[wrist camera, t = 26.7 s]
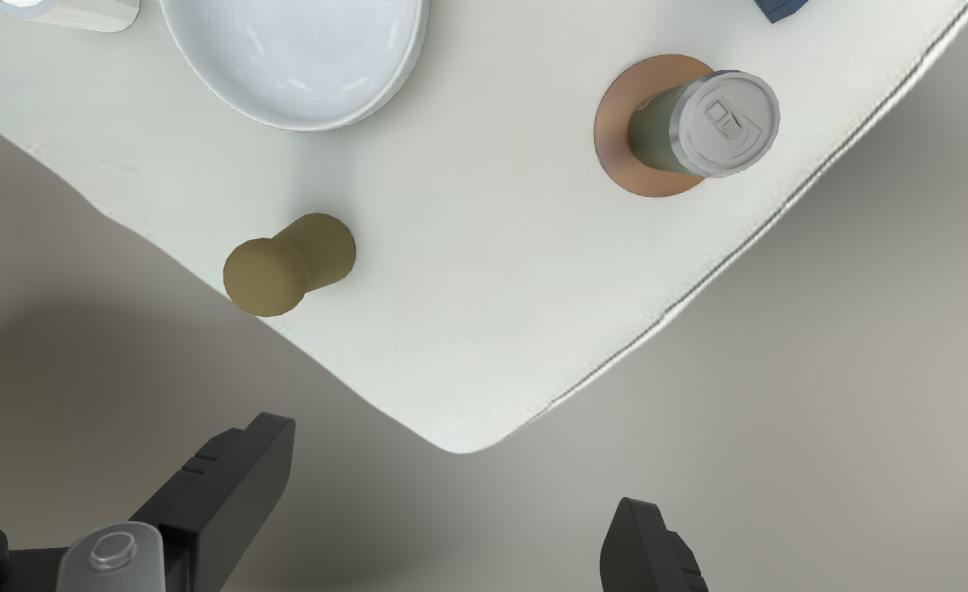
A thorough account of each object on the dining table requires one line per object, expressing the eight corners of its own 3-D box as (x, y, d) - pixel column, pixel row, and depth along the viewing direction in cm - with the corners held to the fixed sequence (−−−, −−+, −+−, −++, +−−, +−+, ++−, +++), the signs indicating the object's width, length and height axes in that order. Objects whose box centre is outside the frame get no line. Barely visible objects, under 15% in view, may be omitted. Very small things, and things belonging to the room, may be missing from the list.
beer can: (610, 131, 36) (652, 124, 25) (668, 75, 35) (741, 41, 24) (656, 184, 37) (718, 201, 26) (715, 132, 36) (807, 125, 24)
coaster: (566, 127, 37) (566, 127, 37) (674, 22, 34) (675, 21, 34) (650, 223, 39) (652, 224, 38) (759, 130, 36) (761, 129, 36)
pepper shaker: (363, 225, 40) (308, 254, 30) (347, 292, 42) (291, 341, 31) (292, 203, 40) (211, 224, 30) (280, 271, 42) (200, 314, 31)
